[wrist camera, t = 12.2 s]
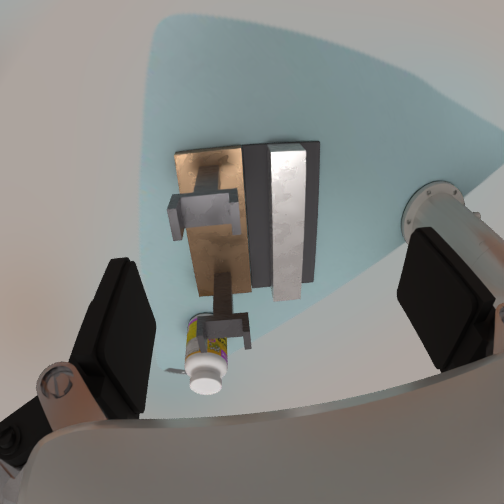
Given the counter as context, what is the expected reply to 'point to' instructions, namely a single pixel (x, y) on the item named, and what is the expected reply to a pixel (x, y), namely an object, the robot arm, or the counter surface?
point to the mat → (259, 210)
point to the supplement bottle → (205, 361)
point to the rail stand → (214, 235)
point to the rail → (286, 218)
